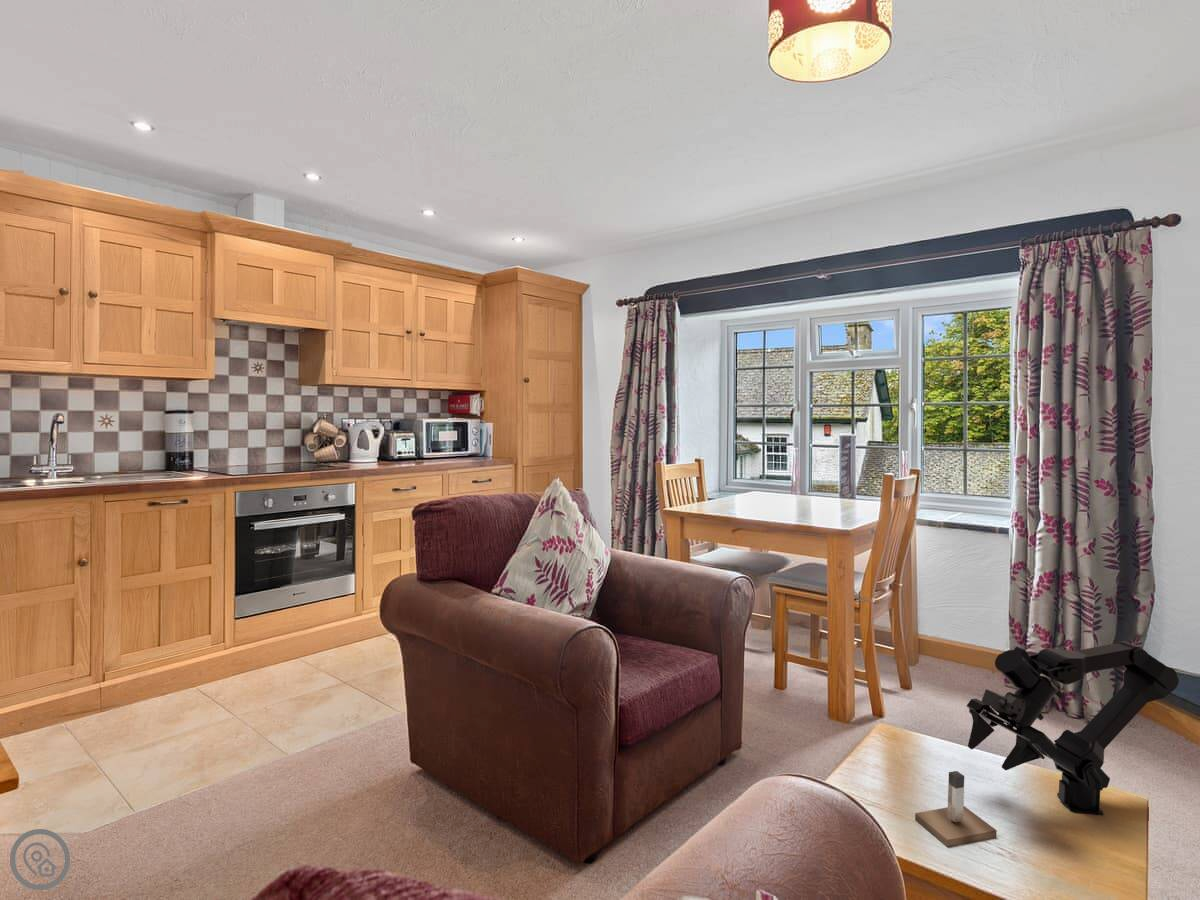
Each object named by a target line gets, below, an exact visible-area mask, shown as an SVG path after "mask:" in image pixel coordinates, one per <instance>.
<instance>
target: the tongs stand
mask: <svg viewBox="0 0 1200 900" xmlns="http://www.w3.org/2000/svg"><path fill="white" fill-rule="evenodd" d="M960 773H961V772H960V771H958V770H956V771H955V770H953V771H949V772H948V787H947V788H948V789H947V807H941V808H938V809H937V808H936V809H931V810H925V811H919V812H915V813H914V820H915V822H917V823H918V824H919V825H920V826H921V827H923V828H924V829H925V830H926V831H927V832H929V833H930V834H931V835H932V836H934V838H935V839H937V840H938V841H939V842H941V843H942V845H944V846H946V847H947V848H949V847H954V846H958V845H959V846H960V845H966V844H969V843H973V842H979V841H985V840H990V839H994V838H995V839H996V838H997V832H998V831H997V829H996V828H994V827H993V826H992V825H990V824H989V823H988V822H986V821H985V820H984V819H982V817H979V816H978V815H977V814H975V813H974V812H973V811H971V810H970V809H969V808H967V806H965V805H964V808H963V821H958V822H954V821H953V820H952V819H951V816H952V776H953V775H954V774H960Z"/></svg>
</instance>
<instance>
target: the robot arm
mask: <svg viewBox="0 0 1200 900" xmlns="http://www.w3.org/2000/svg"><path fill="white" fill-rule="evenodd" d="M994 666H995V668H996V669H997V671H999V672H1000V673H1001V674H1002V676H1004V677H1005V678H1006V679H1007V680H1008V682H1010V683H1011V685H1013V686H1014V687H1015V688H1017V689H1016V690H1015V692H1014V693H1012V692H1011V691H1008V692H1006V693H1005V695H1002V694H1000V693H997V692H995V691H993V690H990V689H987V688H986V689H985V690H984V693H983V696H982V697H981V700H980V699H978V698H971V699H970V701H968V703H967V704H966V707H967V708H968V709H969V710H968V713H970V715H971V718H972V725H971V731H970V734H969V735H970V736H969V739H968V743H967V747H968V748H969V750H973V749H974V750H975V748H977V746H979V745H980V744H982V742H983V741H985V740H986V739H987V738H988V737H989V736H990V735H991V734H993V733H994V732H995V729H994V728H993V727H997V726H1000V727H1001V728H1004V729H1005V730H1007V731H1009V732H1011V733H1013V734H1015V735H1016V737H1015V745H1014V747H1013V748H1012V749H1011V750H1010V751H1009V754H1008V755H1007V757H1006V758H1005V759H1004V761H1003V764H1002V765H1001V768H1002V769H1003V770H1004V771H1009V770H1011V769H1013V768H1016V767H1018V766H1020V765H1023V764H1025V763H1028V762H1033V761H1034V760H1039V759H1041V760H1045V758H1046V757H1047V758H1048V759H1050V760H1052V761H1053V763H1054V766H1055V769H1057V770H1058V771H1059V772H1061V779H1059V781H1058V782H1059V783H1058V792H1057V793H1056V796H1057V797H1058V798H1059V800H1060V801H1061V802H1062V803H1063V804H1064V805H1065V807H1066V808H1067V809H1068V810H1069V811H1070V812H1073V813H1082V814H1083V813H1084V814H1091V815H1101V816H1102V815H1104V811H1103V810H1102V809H1101V807H1100V804H1101V791H1103V789H1106V788H1108V787H1109V783H1110V780H1111V777H1110V776H1108V774H1106V772H1105V771H1104V770H1103V769H1102V766H1103V765H1104V763H1105V749H1106V748H1107V747H1109V744H1111V743H1112V741H1113V740H1114V739H1115V738H1116V737H1117V736H1118V735H1119V734H1120V733H1121V732H1122V731H1123V729H1125V727H1127V725H1128V724H1129V723H1130V722H1131V721H1132V720H1133V719H1134V718H1135V717H1136V716H1137V714H1138V713H1140V711H1142V709H1143V707H1145V706H1146V705H1147V703H1151V702H1155V701H1158V700H1162V699H1164V698H1166V697H1168V695H1170V694H1171V693H1172V692H1174V691H1175V690H1176V688H1177V687H1178V685H1179V682H1180V681H1179V676H1178V673H1177V672H1176V670H1175V669H1174V668H1173V667H1170V666H1167V665H1165V664H1164V663H1163V662H1161V661H1160V660H1158V659H1156V658H1155V657H1153V656H1152V655H1151V654H1150V653H1149V652H1148V651H1146V650H1145V649H1143V648H1142V647H1141V646H1139V645H1136V644H1132V643H1130V642H1128V641H1125V640H1124V641H1123V640H1122V641H1121V640H1120V641H1119V640H1118V641H1116V642H1115V643H1109V644H1105V645H1101V646H1100V645H1099V646H1094V647H1090V648H1089V647H1088V648H1084V649H1078V650H1069V649H1062V648H1043V649H1041V650H1039V651H1038V652H1037V653H1033V654H1029V653H1028V652H1027V651H1026V650H1025V649H1024V648H1022V647H1019V646H1015V647H1014V649H1010V650H1009V649H1008V650H1005V651H1004V652H1002V653H999V654H998V655H997V657H996V658H995V660H994ZM1120 667H1123V668H1124V669H1125V670H1124V671H1123V678H1122V679H1123V681H1122V682H1123V685H1122V686H1121V687H1120V688H1119V690H1118V691H1117V692H1116V693H1115V694H1113V696H1112V697H1111V698H1110V699H1109V700H1108V701H1107V702H1106V703H1105V705H1103V707H1102V708H1101V709H1100V710H1099V711H1098V712H1097V713H1096V714H1095V715H1094V716H1093V717H1092V719H1091V720H1090V721H1089V722H1087V724H1086V725H1085V726H1084V727H1083V728H1082V730H1080V731H1076V732H1073V731H1071V730H1070V729H1066V730H1063V732H1062V733H1061V735H1060V736H1059V737H1058V738H1056V739H1054V741H1052V740H1051V738H1049V737H1048V736H1047V734H1045V733H1044V732H1043V731H1040V730H1039V729H1037V728H1035V727H1033V724H1034V723H1035V721H1036V720H1037V719H1038V720H1040V721H1042V720H1043V719H1044V715H1043V714H1042V712H1043V711H1044V710H1045V708H1046V707H1047V706H1048V704H1049V702H1050V701H1051V700H1052V698H1057V699H1059V700H1063V698H1064V696H1063V693H1062V689H1061V688H1062V686H1061V685H1059V684H1057V683H1055V682H1052V681H1051V679H1052V680H1054V681H1056V682H1059V683H1060V684H1062V685H1071V684H1074V683H1076V682H1079V681H1082V680H1083V679H1084V678H1085V676H1086V675H1087V674H1089V673H1093V672H1099V671H1104V670H1109V669H1114V668H1120ZM1047 677H1048V678H1047ZM1049 678H1050V679H1049Z"/></svg>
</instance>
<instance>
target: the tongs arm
mask: <svg viewBox="0 0 1200 900" xmlns="http://www.w3.org/2000/svg"><path fill="white" fill-rule="evenodd" d="M959 773H960V774H954V775H953V776H952V816H951V819H952V820H953V821H954V822H958V821H963V808H964V806H965V805H964V804H965V803H964V802H965V800H964V799H965V798H964V797H965V775H964V774H962V773H961V772H959Z"/></svg>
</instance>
